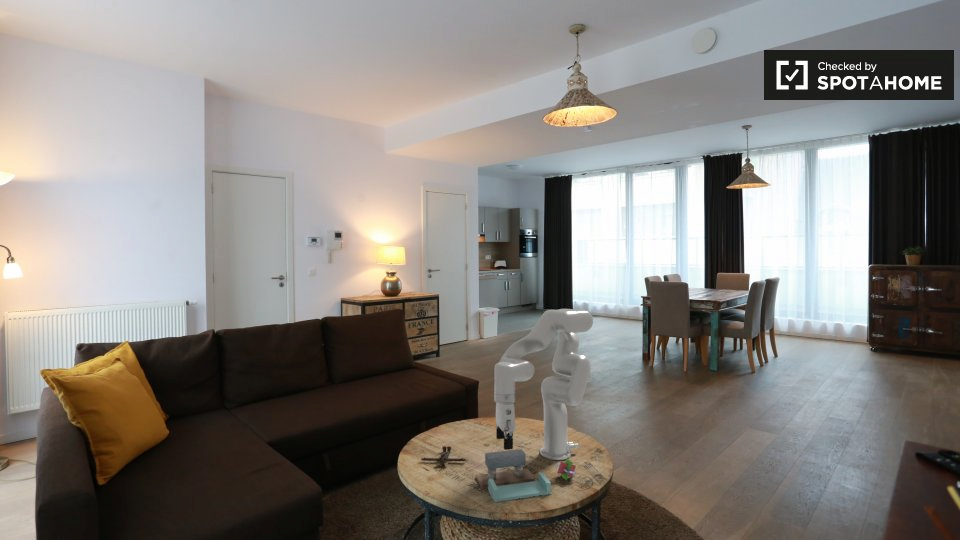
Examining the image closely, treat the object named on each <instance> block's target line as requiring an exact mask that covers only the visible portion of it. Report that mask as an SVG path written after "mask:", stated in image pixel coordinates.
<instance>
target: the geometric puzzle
mask: <svg viewBox="0 0 960 540" xmlns="http://www.w3.org/2000/svg"><path fill="white" fill-rule="evenodd" d="M564 460H565V461H564ZM564 460H560V461H557V463H556V465H555V471H556V473H557V474H558V475H559V476H560V477H562V479H564V480H565V481H566V482H568V481H569V480H570V479H572V478H573V477H575V475H576V474H577V472H576V471H575V470H576V467H577V465H575V464H574V462H572V461H571V460H569V458H566V459H564ZM563 461H564V462H563ZM569 477H570V478H569ZM568 478H569V479H568Z"/></svg>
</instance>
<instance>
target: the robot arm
mask: <svg viewBox="0 0 960 540" xmlns="http://www.w3.org/2000/svg"><path fill="white" fill-rule="evenodd" d="M593 324H594V317H593V315H592V314H591V312H590V311H587V310H581V309H580V310H579V309H571V308H560V309H547V310H546V311H544V312H543V313H542V315H540V318H539V319H538V320H537V322H536V324H535V325H534V326H533V328H532V329H531V331H530V332H529V334H527V335H526V336H524V337H522V338H520V339H519V340H517V341H515V342H514V343H512V344H510V345H509V346H508V348H507V349H506V350H505V352H504V353H503V355H501V358H500V359H499V362H497V363H495V365H494V369H493V370H494V372H493V373H494V377H493V378H494V383H493V386H494V388H493V391H494V392H493V393H494V395H493V397H494V398H493V399H494V401H493V402H494V403H495V422H496V428H495V429H496V435H495V436H496V437H495V438H496V439H497V440H503V449H504V451H509V450H514V431H516V414H515V413H516V411H515V410H516V409H515V402H516V382H527V381H529V380H531V379H532V378H533V376H534V375H535V372H536V371H535V370H536V369H535V366H534V364H533V363H532V362H530V361H528V360H526V359H521V358H523V357H524V356H526V355H528V354H531V353H537V352H540V351H543V350H545V349H547V347H549V345H550V343H551V341H552V340H553V338H554V336H556V334H558V342H557V345H556V349H555V352H554V356H553V359H552V362H551V369H552V372H554V373H555V374H558V375H561V376H564V377H569V378H570V379H567V378H563V377H558V376H554V375H553V376H552V375H551V376H547V377H545V378H544V379H543V380H542V382H541V385H540V391H541V397H542V405H543V446H542V447H541V448H540V449H539V453H540V455H541V456H542V457H543V458H545V459H548V460H552V461H553V460H554V461H564V459H565V460H566V458H567V459H569V458H570V457H571V456H572V449H579V448H580V447H579V443H574V442H573V441H569V442H568V410H567V406H566V405H568V406H572V407H573V406H574V407H576V406H578V405H580V403H581V402H582V401H583V398H584V395H585V392H586V388H587V384H588V381H589V377H590V374H591V363H590V359H589V358H588V357H587V356H585V355H582V354H578V350H579V348H580V347H579V346H580V341H579V337H578V335H577V333H578V334H579V333H585V332H588V331H589V330H591V328H592V327H593Z"/></svg>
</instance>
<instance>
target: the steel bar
mask: <svg viewBox="0 0 960 540" xmlns="http://www.w3.org/2000/svg"><path fill="white" fill-rule="evenodd" d="M526 457H527V456H526V453H525V451H524V450H523V449H522V448H520V449H508V450H501V451H493V452H492V451H491V452H485V454H484V463H485V467H486V468H487V470H488V469H496V470H497V469H503V468H511V467H513V468H514V466H521V465H523V466H526Z"/></svg>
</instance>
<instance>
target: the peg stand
mask: <svg viewBox="0 0 960 540" xmlns="http://www.w3.org/2000/svg"><path fill="white" fill-rule="evenodd" d="M523 467H524V465H521V466H513V468H514V470H513V469H512V470H505V471H497V468H496V469H488V468H487V473H481V474H476V475H475V476H476V477H475V478H476V480H477V482H478V484H479V486H480V488H481V489H485V488H488V479H493V480H494V482H495V484H496V486H503V485H511V484H518V483H526V482H534V481H536V478H535V476H534V475H533V473H532V472H531V471H530V470H529V468H523Z"/></svg>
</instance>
